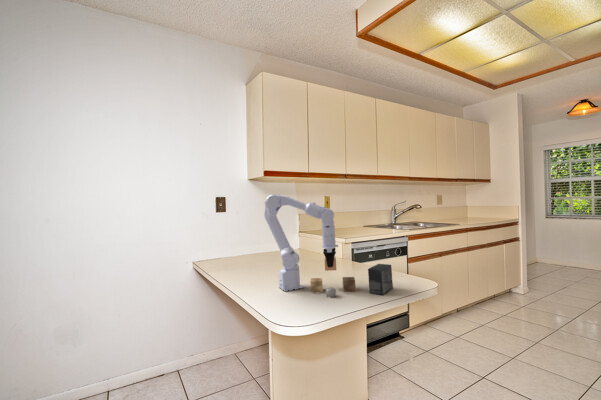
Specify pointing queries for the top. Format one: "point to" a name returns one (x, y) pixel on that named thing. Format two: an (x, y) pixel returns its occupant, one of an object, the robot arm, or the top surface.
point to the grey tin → (330, 292)
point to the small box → (380, 279)
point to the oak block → (316, 285)
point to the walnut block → (349, 284)
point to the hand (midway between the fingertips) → (330, 265)
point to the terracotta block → (330, 267)
